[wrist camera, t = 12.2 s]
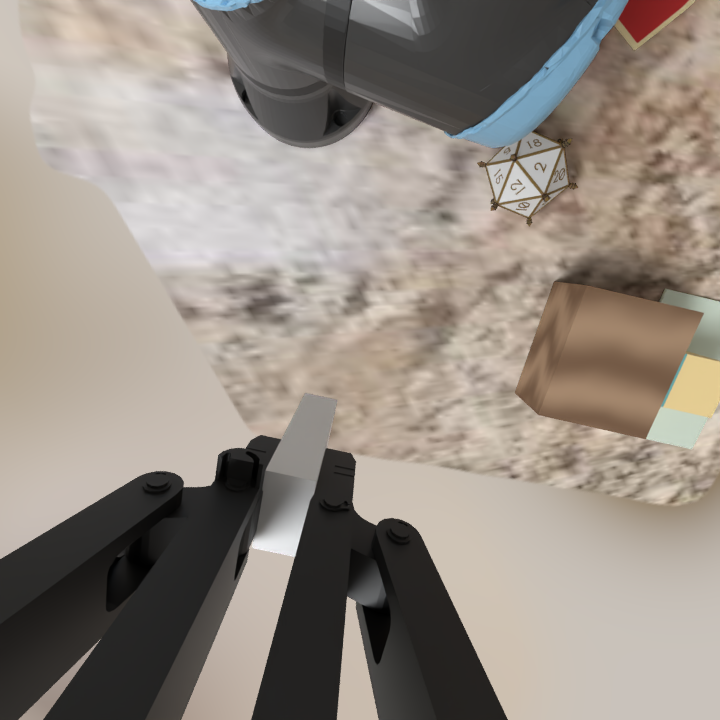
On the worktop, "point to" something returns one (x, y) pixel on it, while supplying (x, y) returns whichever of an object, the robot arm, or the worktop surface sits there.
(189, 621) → the robot arm
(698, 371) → the ochre block
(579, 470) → the worktop surface
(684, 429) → the mat
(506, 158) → the game die
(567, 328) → the step
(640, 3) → the milk carton
